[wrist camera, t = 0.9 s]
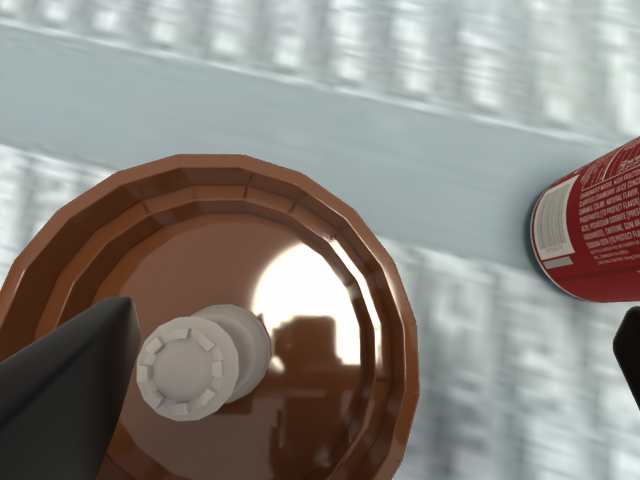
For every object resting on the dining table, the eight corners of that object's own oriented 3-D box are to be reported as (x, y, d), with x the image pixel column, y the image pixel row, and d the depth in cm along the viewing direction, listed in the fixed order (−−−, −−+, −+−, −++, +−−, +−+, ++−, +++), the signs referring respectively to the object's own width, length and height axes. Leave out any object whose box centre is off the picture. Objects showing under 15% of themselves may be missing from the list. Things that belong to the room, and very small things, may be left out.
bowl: (336, 581, 20) (348, 670, 15) (-3, 470, 20) (-104, 522, 15) (428, 244, 23) (464, 223, 18) (130, 150, 23) (82, 103, 18)
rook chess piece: (158, 341, 21) (74, 355, 13) (236, 285, 22) (200, 267, 14) (211, 421, 21) (157, 484, 13) (290, 361, 21) (284, 386, 13)
